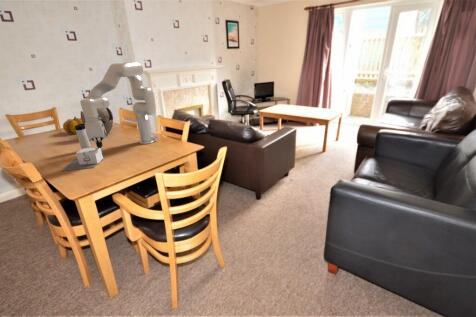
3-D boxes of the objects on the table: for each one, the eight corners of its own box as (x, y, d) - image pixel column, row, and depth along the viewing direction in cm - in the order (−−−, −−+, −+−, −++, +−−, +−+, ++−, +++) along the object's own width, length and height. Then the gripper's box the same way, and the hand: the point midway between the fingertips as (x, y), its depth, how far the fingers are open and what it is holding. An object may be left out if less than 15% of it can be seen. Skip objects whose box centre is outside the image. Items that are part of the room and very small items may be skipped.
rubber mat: (102, 157, 166) (102, 156, 166) (93, 167, 150) (93, 167, 149) (74, 159, 163) (74, 159, 163) (61, 171, 147) (61, 170, 147)
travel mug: (94, 149, 182) (86, 123, 174) (86, 152, 176) (78, 126, 168) (88, 148, 184) (80, 123, 176) (80, 151, 178) (72, 125, 170)
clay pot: (122, 133, 219) (115, 106, 209) (96, 141, 200) (87, 111, 191) (107, 130, 231) (100, 104, 221) (81, 137, 213) (72, 109, 203)
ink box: (103, 158, 162) (85, 159, 161) (100, 147, 159) (82, 148, 158) (97, 164, 154) (79, 165, 153) (94, 151, 151) (75, 152, 150)
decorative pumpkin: (76, 129, 240) (71, 114, 234) (96, 129, 236) (91, 114, 231) (59, 135, 221) (54, 119, 215) (81, 135, 218) (76, 119, 212)
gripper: (107, 117, 152) (114, 144, 159) (81, 119, 149) (89, 146, 157) (103, 119, 145) (110, 148, 152) (76, 121, 143) (85, 150, 150)
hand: (100, 147), depth 154 cm, fingers closed
